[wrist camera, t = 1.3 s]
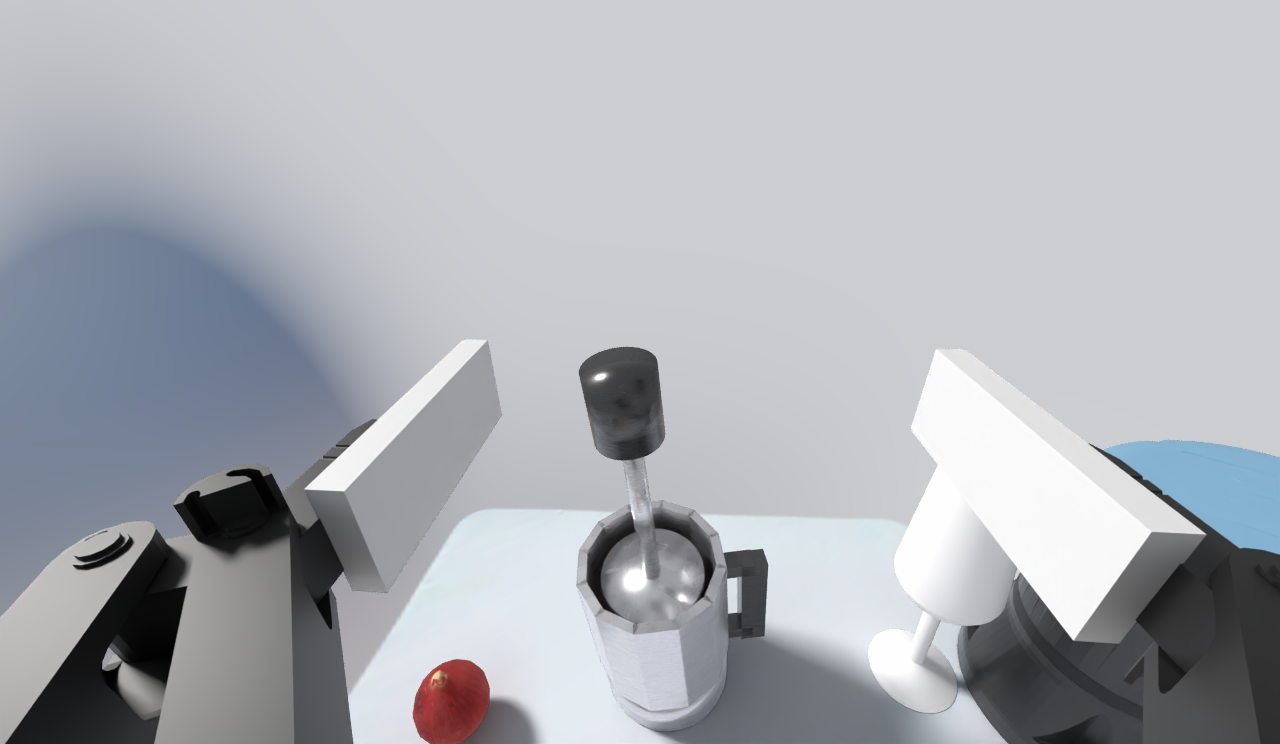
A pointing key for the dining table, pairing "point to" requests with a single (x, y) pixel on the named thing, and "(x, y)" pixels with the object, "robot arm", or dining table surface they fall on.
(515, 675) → the dining table surface
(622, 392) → the plunger
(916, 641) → the champagne flute
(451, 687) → the onion
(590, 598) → the press pot
